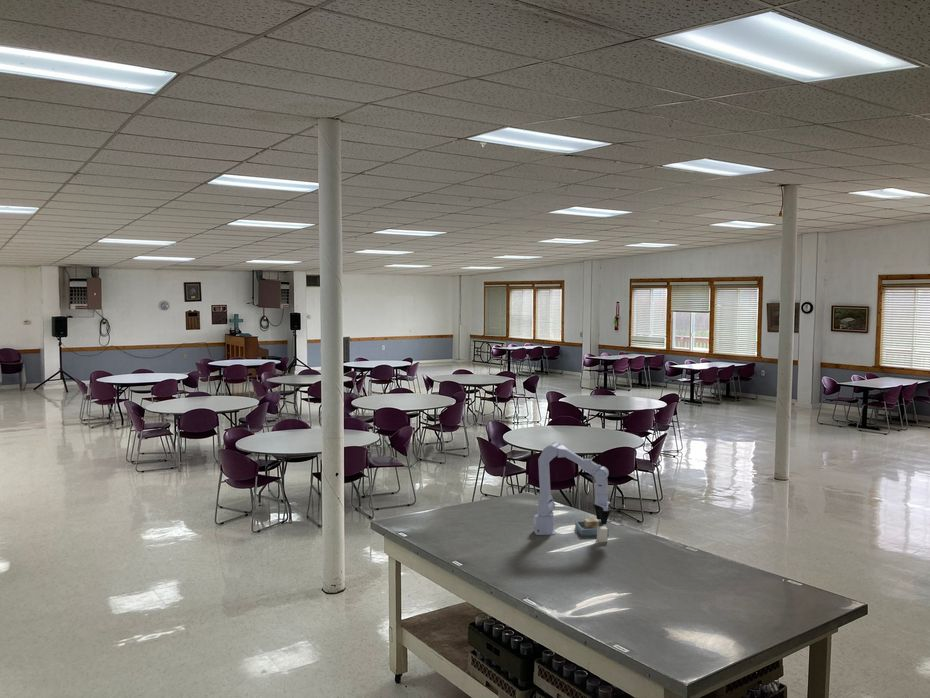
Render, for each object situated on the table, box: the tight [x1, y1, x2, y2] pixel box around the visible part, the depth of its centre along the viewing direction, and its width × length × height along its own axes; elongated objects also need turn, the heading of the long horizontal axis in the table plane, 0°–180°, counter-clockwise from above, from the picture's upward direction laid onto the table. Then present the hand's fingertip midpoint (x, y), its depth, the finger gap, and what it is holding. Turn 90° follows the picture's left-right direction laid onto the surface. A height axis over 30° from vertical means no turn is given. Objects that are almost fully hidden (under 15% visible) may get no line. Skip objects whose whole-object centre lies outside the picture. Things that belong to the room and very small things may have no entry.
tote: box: [574, 520, 609, 538], centre depth 329 cm, size 13×13×4 cm
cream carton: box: [596, 525, 609, 543], centre depth 318 cm, size 4×4×6 cm
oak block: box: [583, 517, 600, 529], centre depth 329 cm, size 6×5×5 cm
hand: (601, 521), depth 318 cm, fingers open, 7 cm apart
